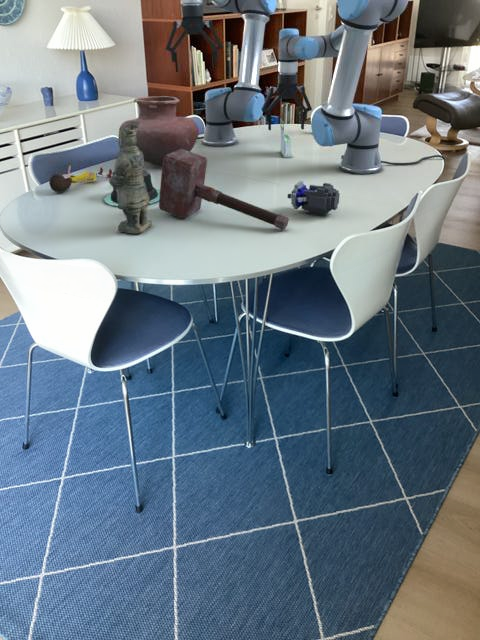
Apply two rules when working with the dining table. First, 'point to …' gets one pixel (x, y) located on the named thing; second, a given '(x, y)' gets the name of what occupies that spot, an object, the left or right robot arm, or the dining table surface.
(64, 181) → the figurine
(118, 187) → the statue
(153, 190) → the chocolate cake
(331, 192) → the toy
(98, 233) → the dining table surface
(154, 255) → the dining table surface
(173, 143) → the clay pot
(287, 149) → the ink box
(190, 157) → the sledgehammer
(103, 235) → the dining table surface
